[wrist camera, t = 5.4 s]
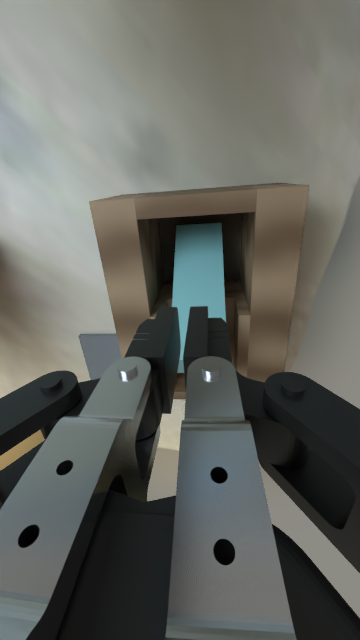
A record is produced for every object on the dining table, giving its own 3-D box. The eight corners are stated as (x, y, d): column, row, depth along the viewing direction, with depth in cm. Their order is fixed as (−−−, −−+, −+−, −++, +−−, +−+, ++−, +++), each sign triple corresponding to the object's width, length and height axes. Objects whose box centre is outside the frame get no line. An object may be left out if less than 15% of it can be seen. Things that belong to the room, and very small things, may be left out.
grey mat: (80, 334, 37) (78, 336, 37) (151, 333, 36) (150, 335, 36) (96, 389, 42) (94, 392, 41) (159, 390, 41) (158, 393, 40)
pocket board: (122, 194, 28) (88, 201, 21) (279, 182, 27) (309, 185, 19) (146, 351, 38) (130, 398, 30) (264, 351, 36) (280, 400, 28)
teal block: (180, 251, 31) (176, 225, 27) (220, 249, 30) (221, 222, 27) (175, 372, 25) (169, 359, 21) (225, 373, 24) (227, 359, 21)
